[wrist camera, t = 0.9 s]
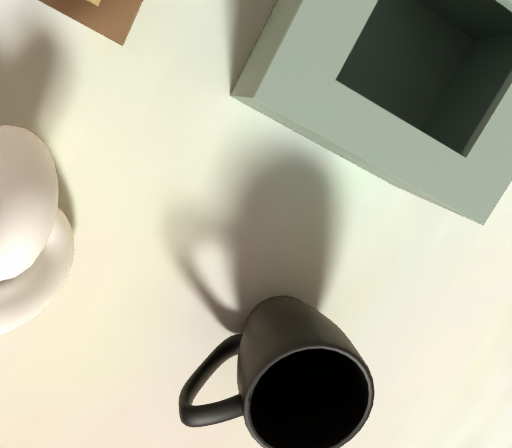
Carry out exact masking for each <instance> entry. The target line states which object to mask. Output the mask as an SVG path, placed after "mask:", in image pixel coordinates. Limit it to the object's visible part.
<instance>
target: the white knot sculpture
mask: <svg viewBox="0 0 512 448" xmlns="http://www.w3.org/2000/svg"><path fill="white" fill-rule="evenodd" d="M58 195H59V191H58V178H57V173H56V169H55V165H54V161H53V158H52V155H51V153H50V151H49V149H48V147H47V146H46V145H45V144H44V143H43V141H41V140H40V139H39V138H38V137H37V136H36V135H35V134H34V133H32V132H31V131H29V130H27V129H24V128H20V127H16V126H10V125H2V126H0V335H1V334H3V333H6V332H8V331H10V330H13V329H15V328H17V327H19V326H20V325H22V324H23V323H25V322H27V321H28V320H30V319H31V318H33V317H34V316H36V315H37V314H39V313H40V312H41V311H42V310H43V309H44V308H45V307H46V306H47V305H48V304H49V303H51V301H52V300H53V299H54V298H55V296H56V295H57V294H58V292H59V291H60V290H61V288H62V286H63V284H64V283H65V281H66V279H67V277H68V275H69V272H70V269H71V266H72V262H73V255H74V237H73V233H72V228H71V226H70V223H69V221H68V219H67V218H66V216H65V214H64V213H63V212H62V211H61V210H60V209H59V208H58ZM1 280H2V281H1Z"/></svg>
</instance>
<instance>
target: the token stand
mask: <svg viewBox="0 0 512 448" xmlns="http://www.w3.org/2000/svg"><path fill="white" fill-rule="evenodd" d="M39 1H41V2H43V3H45V4H46V5H48V6H50V7H52V8H54V9H56V10H57V11H59V12H61V13H63V14H65V15H67V16H69V17H70V18H72V19H74V20H76V21H78V22H80V23H81V24H83V25H85V26H87V27H89V28H91V29H92V30H94V31H96V32H98V33H100V34H102V35H104V36H105V37H107V38H109V39H111V40H113V41H115V42H116V43H118V44H120V45H122V46H123V44H124V42H125V40H126V37H127V35H128V33H129V31H130V28H131V26H132V24H133V22H134V19H135V17H136V15H137V13H138V10H139V8H140V6H141V4H142V1H143V0H101V1H100V3H99V6H96V5H94V4H92V3H91V2H89V1H87V0H39Z"/></svg>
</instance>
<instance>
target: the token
mask: <svg viewBox="0 0 512 448" xmlns="http://www.w3.org/2000/svg"><path fill="white" fill-rule="evenodd" d="M87 1H89V2H91V3H92V4H94V5H96V6H99V3H100V1H101V0H87Z"/></svg>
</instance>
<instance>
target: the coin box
mask: <svg viewBox="0 0 512 448" xmlns="http://www.w3.org/2000/svg"><path fill="white" fill-rule="evenodd" d="M230 96H232V97H233V98H235V99H237V100H239V101H241V102H242V103H244V104H246V105H248V106H250V107H252V108H253V109H255V110H257V111H259V112H261V113H263V114H264V115H266V116H268V117H270V118H272V119H273V120H275V121H277V122H279V123H281V124H283V125H284V126H286V127H288V128H290V129H292V130H294V131H295V132H297V133H299V134H301V135H303V136H304V137H306V138H308V139H310V140H312V141H314V142H315V143H317V144H319V145H321V146H323V147H325V148H326V149H328V150H330V151H332V152H334V153H335V154H337V155H339V156H341V157H343V158H345V159H346V160H348V161H350V162H352V163H354V164H356V165H357V166H359V167H361V168H363V169H365V170H366V171H368V172H370V173H372V174H374V175H376V176H377V177H379V178H381V179H383V180H385V181H387V182H388V183H390V184H392V185H394V186H396V187H398V188H400V189H403V190H405V191H407V192H409V193H412V194H414V195H416V196H418V197H421V198H423V199H425V200H427V201H430V202H432V203H434V204H436V205H439V206H441V207H443V208H445V209H448V210H450V211H452V212H454V213H457V214H459V215H461V216H463V217H466V218H468V219H470V220H472V221H475V222H477V223H479V224H481V225H484V224H485V222H486V220H487V219H488V217H489V216H490V214H491V212H492V211H493V209H494V208H495V206H496V205H497V203H498V201H499V200H500V198H501V197H502V195H503V193H504V192H505V190H506V189H507V187H508V186H509V184H510V182H511V181H512V0H277V2H276V4H275V6H274V8H273V10H272V12H271V14H270V16H269V18H268V20H267V22H266V24H265V26H264V28H263V30H262V32H261V34H260V37H259V39H258V41H257V43H256V45H255V47H254V49H253V51H252V53H251V55H250V57H249V59H248V61H247V63H246V65H245V67H244V69H243V71H242V73H241V75H240V77H239V79H238V81H237V83H236V85H235V87H234V89H233V91H232V93H231V95H230Z"/></svg>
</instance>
